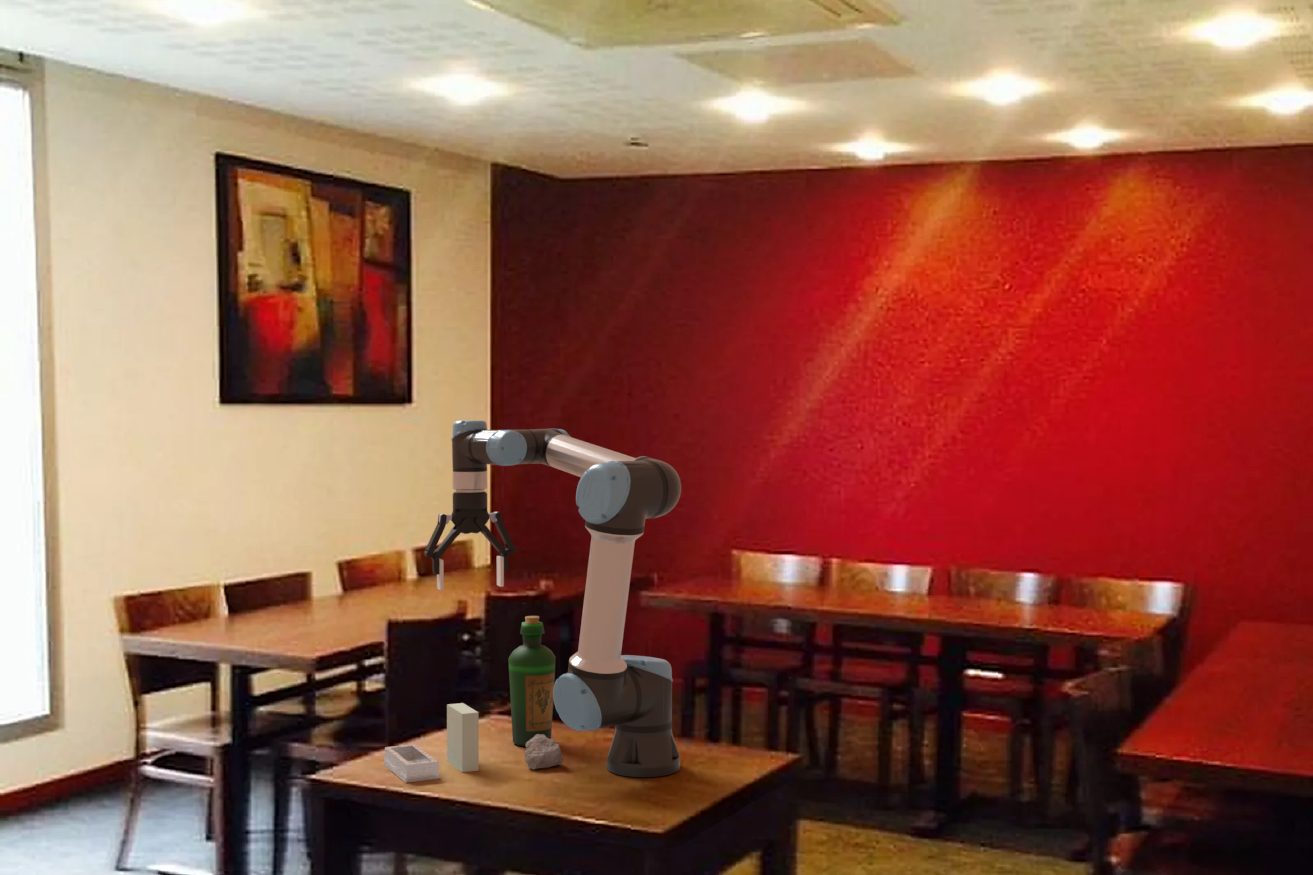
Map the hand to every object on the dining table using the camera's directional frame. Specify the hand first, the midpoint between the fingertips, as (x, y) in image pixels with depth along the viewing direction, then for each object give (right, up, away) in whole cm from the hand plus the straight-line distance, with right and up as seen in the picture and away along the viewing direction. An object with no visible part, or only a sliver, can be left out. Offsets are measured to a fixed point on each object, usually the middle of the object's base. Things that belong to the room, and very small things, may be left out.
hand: (470, 587), depth 325 cm
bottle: (+13, -35, +2) cm, 37 cm away
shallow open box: (-9, -35, -22) cm, 43 cm away
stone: (+17, -36, -16) cm, 42 cm away
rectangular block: (0, -35, -17) cm, 39 cm away
